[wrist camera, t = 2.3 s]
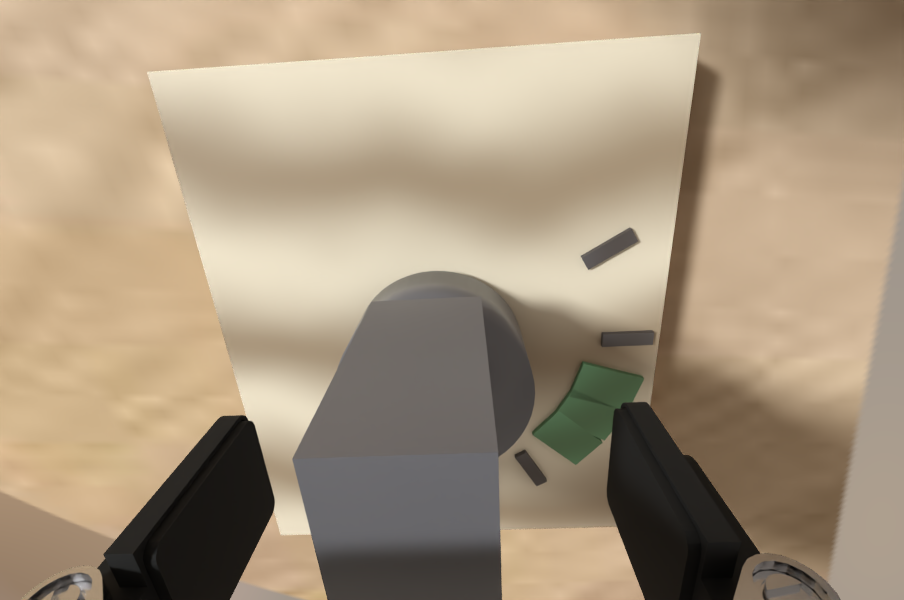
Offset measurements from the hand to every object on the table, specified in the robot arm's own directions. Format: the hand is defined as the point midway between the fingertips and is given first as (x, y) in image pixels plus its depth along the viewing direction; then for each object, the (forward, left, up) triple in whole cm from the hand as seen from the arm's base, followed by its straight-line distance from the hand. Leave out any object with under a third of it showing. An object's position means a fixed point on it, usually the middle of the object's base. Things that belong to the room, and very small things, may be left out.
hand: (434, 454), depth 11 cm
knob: (+2, 0, -5) cm, 5 cm away
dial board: (0, 0, -7) cm, 7 cm away
